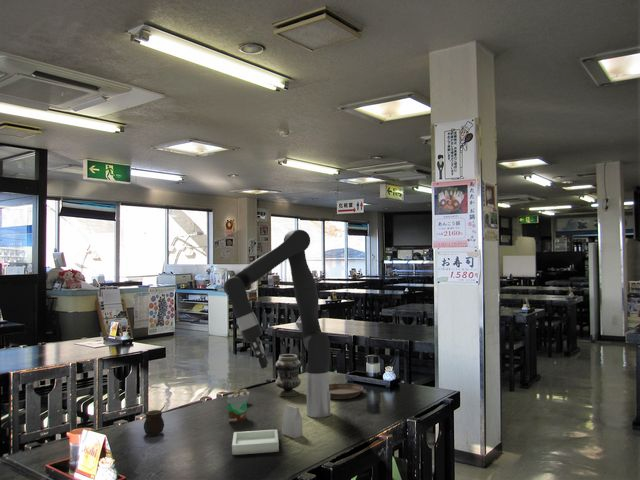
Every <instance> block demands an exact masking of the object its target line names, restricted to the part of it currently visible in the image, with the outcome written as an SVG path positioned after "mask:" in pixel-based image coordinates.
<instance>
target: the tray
mask: <svg viewBox="0 0 640 480" xmlns="http://www.w3.org/2000/svg"><path fill="white" fill-rule="evenodd" d="M279 446H280V443H279V433H278V429H277V428H276V429H264V430H261V429H260V430H249V431H234V432H233V436H232V443H231V455H232V456H234V455H235V456H236V455H238V456H239V455H248V454H251V455H252V454H265V453H277V452H278V453H279V452H280V447H279Z"/></svg>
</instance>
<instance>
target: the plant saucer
mask: <svg viewBox="0 0 640 480" xmlns="http://www.w3.org/2000/svg"><path fill="white" fill-rule="evenodd" d="M363 390H364V387H363V386H362V385H359V384H356V383H355V384H354V383H341V382H340V383H329V391H330V399H332V400H333V399H334V400H347V399H352V398H355V397H358V396H360V394H361V393H362V392H363Z"/></svg>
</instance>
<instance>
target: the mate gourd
mask: <svg viewBox="0 0 640 480" xmlns="http://www.w3.org/2000/svg"><path fill="white" fill-rule="evenodd" d="M165 407H166V405H164V406H163V407H162V408H161V409H151V410H148V411H146V412H145V421H144V422H143V430H144V433H145V434H146V435H147V436H150V437H153V436H158V435H161V433H162V432H163V431H164V428H165V422H164V418H163V416H162V413H163V410H164V408H165Z"/></svg>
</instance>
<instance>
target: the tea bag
mask: <svg viewBox="0 0 640 480" xmlns="http://www.w3.org/2000/svg"><path fill="white" fill-rule="evenodd" d="M281 419H282V420H281V422H282V423H281V426H282V427H281V428H282V429H281V431H282V435H284V436H287V437H290V438H293V439H297V438H299V437H302V436H303V435H304V434H303V417H302V415H301V413H300V409H299V407H295V406H292V405H289V404H285V405H284V410H283V414H282V417H281Z"/></svg>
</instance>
